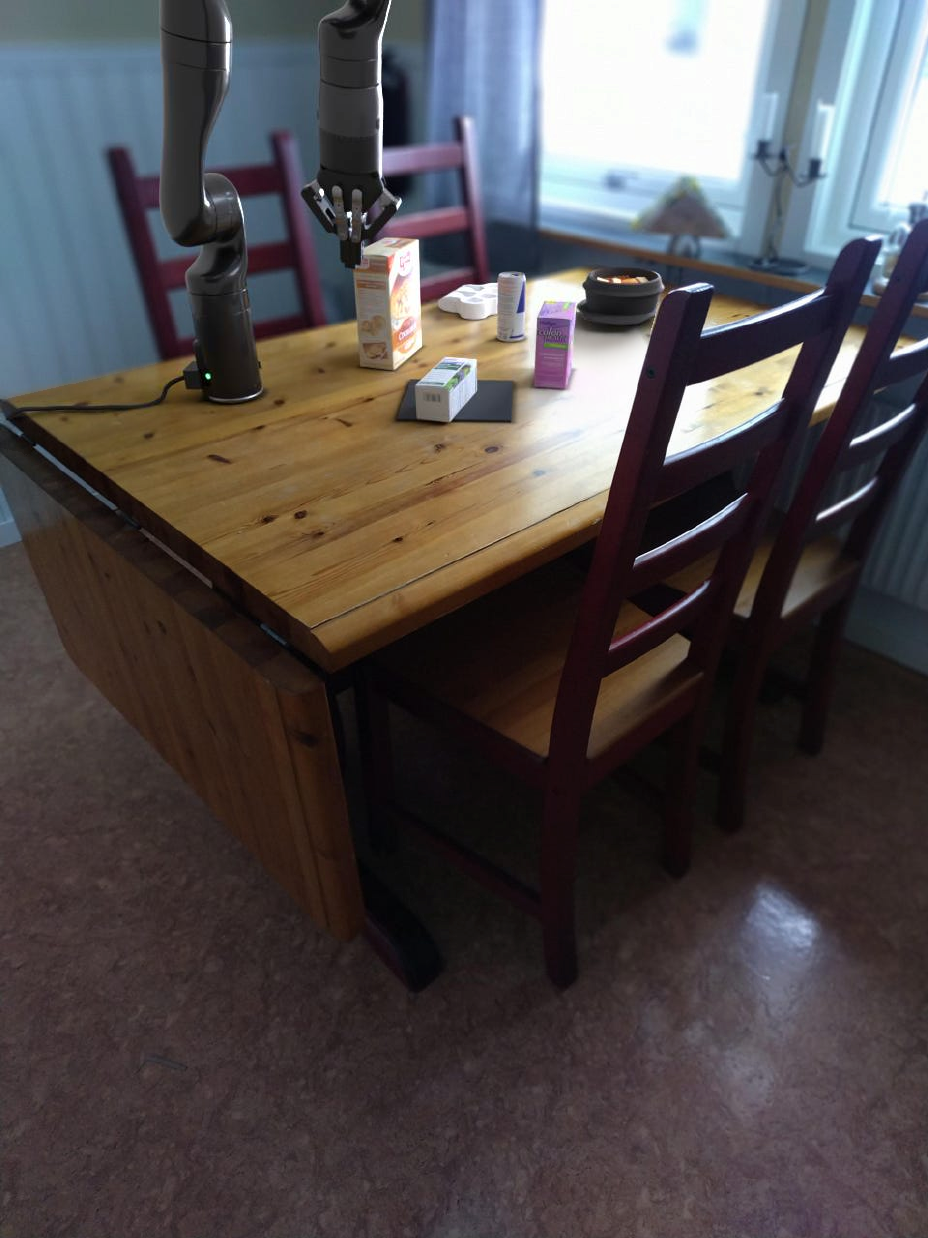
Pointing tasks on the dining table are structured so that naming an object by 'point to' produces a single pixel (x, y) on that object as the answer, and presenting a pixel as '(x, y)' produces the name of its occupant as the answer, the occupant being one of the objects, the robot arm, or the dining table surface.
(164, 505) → the dining table surface
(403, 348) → the coffeecake box
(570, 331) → the box
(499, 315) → the energy drink
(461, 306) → the white cupped tray
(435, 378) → the syrup box
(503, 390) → the mat
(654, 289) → the casserole
